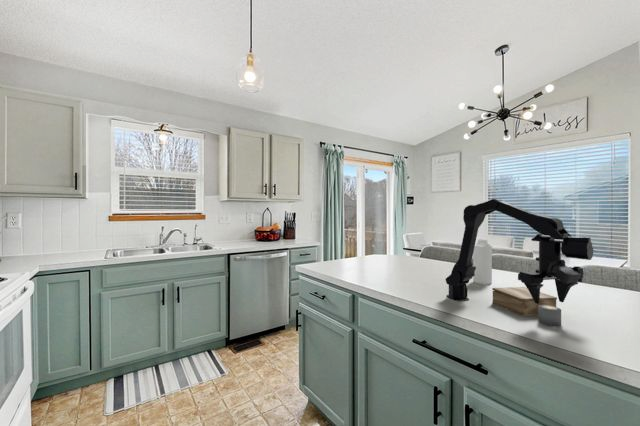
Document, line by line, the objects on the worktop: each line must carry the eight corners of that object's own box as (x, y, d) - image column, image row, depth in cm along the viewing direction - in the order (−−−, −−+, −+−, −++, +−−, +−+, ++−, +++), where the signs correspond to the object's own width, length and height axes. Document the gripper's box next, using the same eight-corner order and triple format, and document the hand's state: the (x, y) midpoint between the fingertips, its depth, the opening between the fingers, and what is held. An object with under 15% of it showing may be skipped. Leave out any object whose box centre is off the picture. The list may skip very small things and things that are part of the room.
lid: (521, 301, 103) (521, 298, 103) (492, 289, 117) (492, 287, 117) (556, 299, 105) (556, 297, 105) (523, 288, 119) (523, 286, 119)
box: (521, 315, 103) (521, 301, 103) (492, 303, 117) (492, 290, 117) (556, 313, 105) (556, 299, 105) (524, 301, 119) (524, 289, 119)
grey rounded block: (549, 327, 94) (549, 311, 94) (533, 320, 100) (533, 305, 99) (566, 326, 94) (566, 310, 94) (549, 319, 100) (549, 304, 100)
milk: (482, 284, 146) (482, 240, 145) (472, 281, 152) (472, 239, 151) (492, 283, 147) (492, 240, 147) (482, 280, 153) (482, 238, 153)
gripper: (546, 260, 87) (546, 312, 88) (600, 259, 90) (599, 309, 90) (516, 254, 99) (516, 301, 99) (565, 253, 101) (564, 298, 101)
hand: (549, 302), depth 97 cm, fingers open, 9 cm apart
